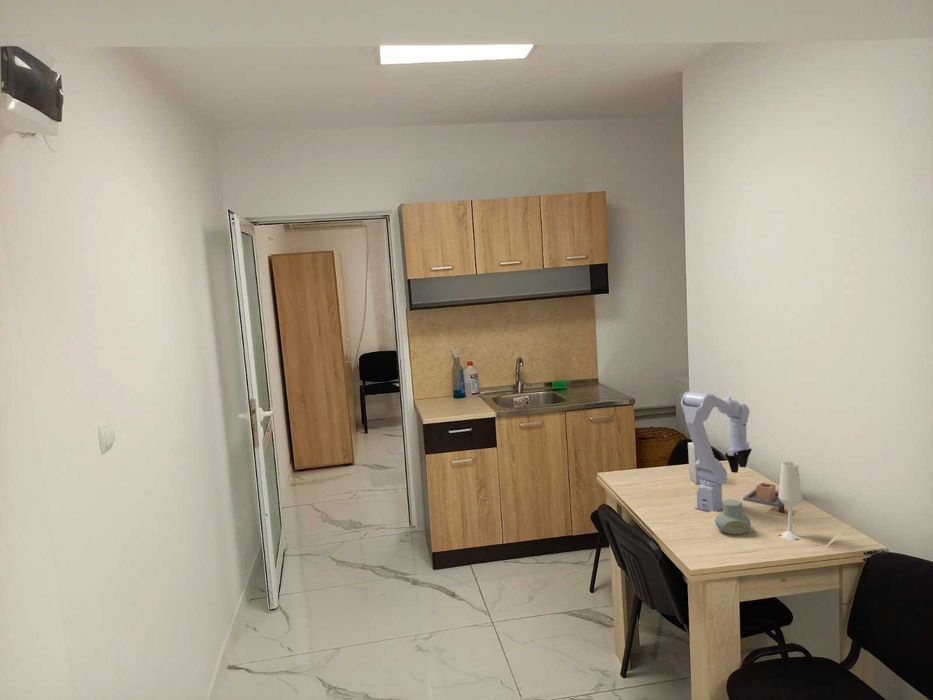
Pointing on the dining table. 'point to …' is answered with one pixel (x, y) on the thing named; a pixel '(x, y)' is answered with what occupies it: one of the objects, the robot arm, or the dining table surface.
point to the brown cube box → (766, 492)
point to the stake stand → (780, 510)
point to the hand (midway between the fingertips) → (738, 469)
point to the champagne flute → (790, 494)
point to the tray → (752, 498)
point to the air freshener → (732, 518)
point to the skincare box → (692, 463)
